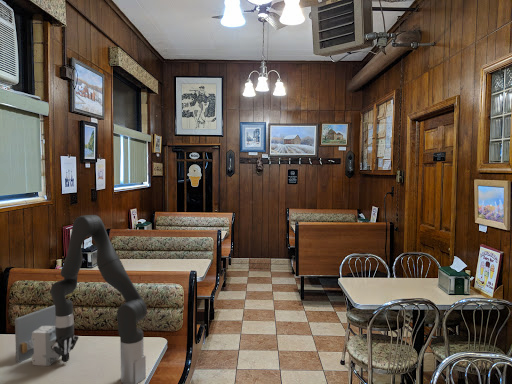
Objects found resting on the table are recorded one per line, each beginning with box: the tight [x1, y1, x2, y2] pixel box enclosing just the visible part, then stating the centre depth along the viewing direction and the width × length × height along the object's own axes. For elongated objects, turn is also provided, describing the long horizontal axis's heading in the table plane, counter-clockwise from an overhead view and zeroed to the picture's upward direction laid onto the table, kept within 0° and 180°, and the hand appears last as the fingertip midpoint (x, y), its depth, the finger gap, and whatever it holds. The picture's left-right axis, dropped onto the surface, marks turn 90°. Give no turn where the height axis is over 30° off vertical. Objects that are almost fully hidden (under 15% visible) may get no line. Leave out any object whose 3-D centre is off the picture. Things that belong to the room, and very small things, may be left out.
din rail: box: [21, 339, 34, 353], centre depth 178 cm, size 2×20×4 cm, turn 155°
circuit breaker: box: [31, 326, 62, 367], centre depth 170 cm, size 8×14×15 cm, turn 87°
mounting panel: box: [14, 304, 55, 363], centre depth 179 cm, size 2×22×20 cm, turn 155°
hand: (65, 361), depth 167 cm, fingers closed
